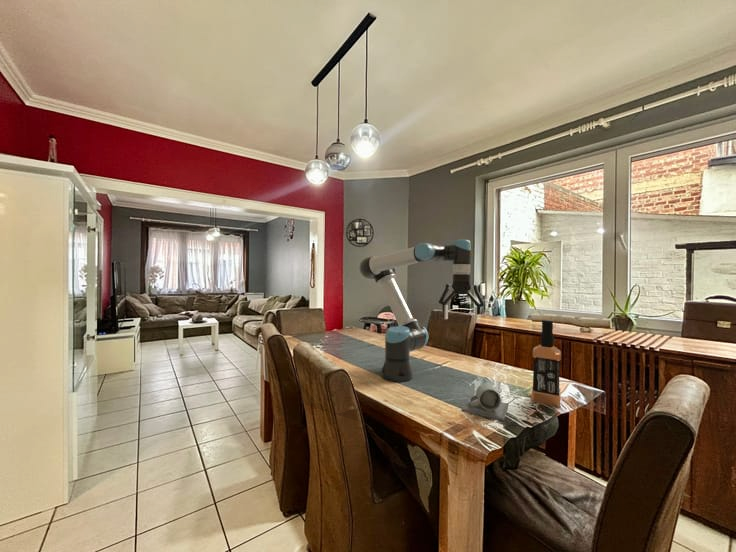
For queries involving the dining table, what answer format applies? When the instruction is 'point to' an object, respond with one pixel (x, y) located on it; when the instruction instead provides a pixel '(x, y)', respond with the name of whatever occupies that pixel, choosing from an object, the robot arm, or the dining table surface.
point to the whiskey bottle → (546, 368)
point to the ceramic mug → (486, 398)
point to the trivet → (494, 414)
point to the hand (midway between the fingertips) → (460, 320)
